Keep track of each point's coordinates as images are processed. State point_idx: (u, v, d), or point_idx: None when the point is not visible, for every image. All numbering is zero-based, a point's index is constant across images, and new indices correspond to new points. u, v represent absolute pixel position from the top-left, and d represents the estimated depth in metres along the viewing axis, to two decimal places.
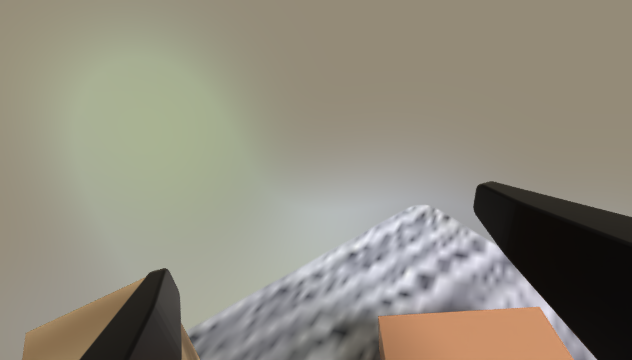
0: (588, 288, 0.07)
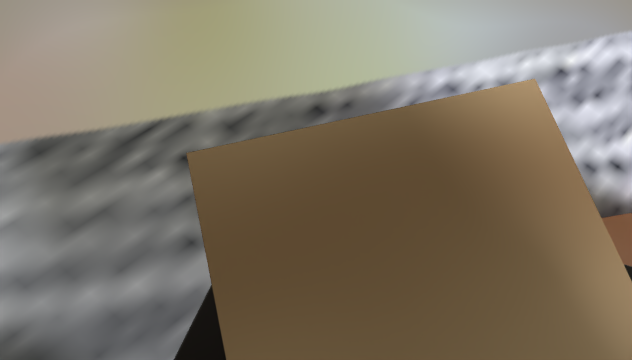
0: None
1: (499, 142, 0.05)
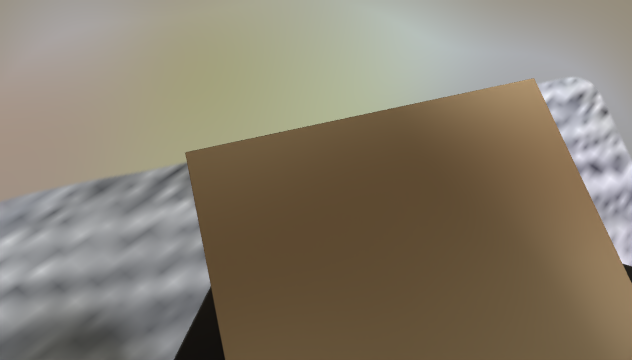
0: None
1: (497, 141, 0.05)
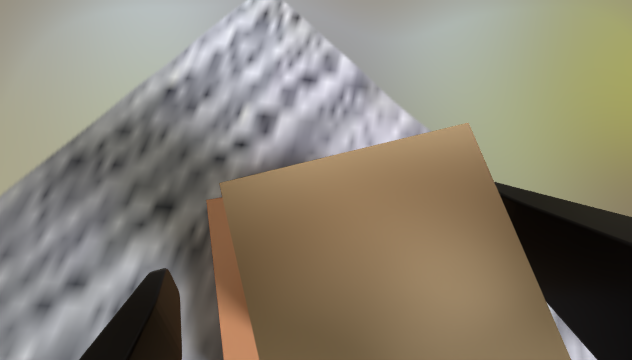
0: (588, 288, 0.07)
1: (440, 170, 0.06)
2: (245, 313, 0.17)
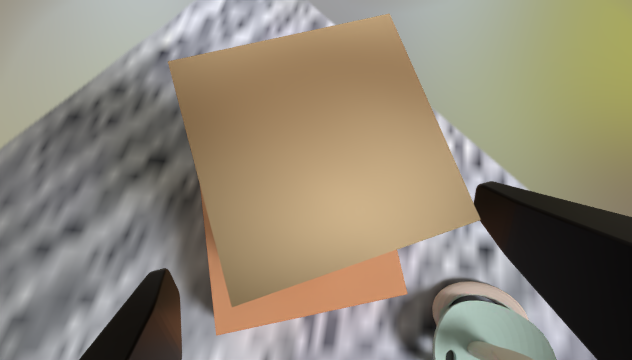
0: (588, 288, 0.07)
1: (362, 51, 0.07)
2: None
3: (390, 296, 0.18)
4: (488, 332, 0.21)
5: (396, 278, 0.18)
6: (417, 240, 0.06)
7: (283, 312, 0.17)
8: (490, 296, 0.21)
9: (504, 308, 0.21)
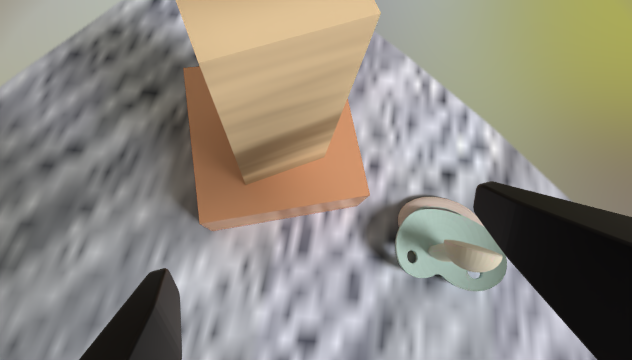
0: (588, 288, 0.07)
1: None
2: (214, 153, 0.20)
3: (354, 196, 0.20)
4: (447, 238, 0.23)
5: (360, 182, 0.20)
6: (333, 24, 0.09)
7: (258, 206, 0.19)
8: (450, 208, 0.24)
9: (461, 216, 0.23)
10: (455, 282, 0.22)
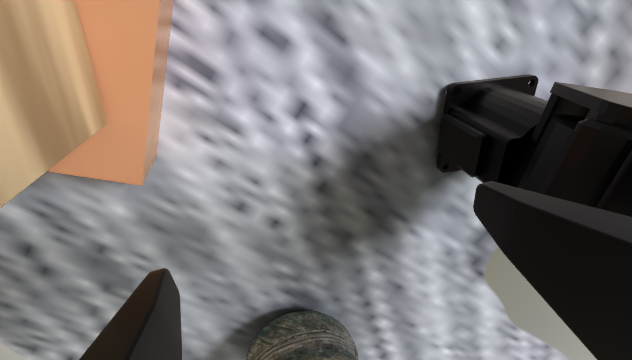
0: (588, 288, 0.07)
1: None
2: None
3: None
4: None
5: None
6: None
7: (138, 123, 0.16)
8: None
9: None
10: None
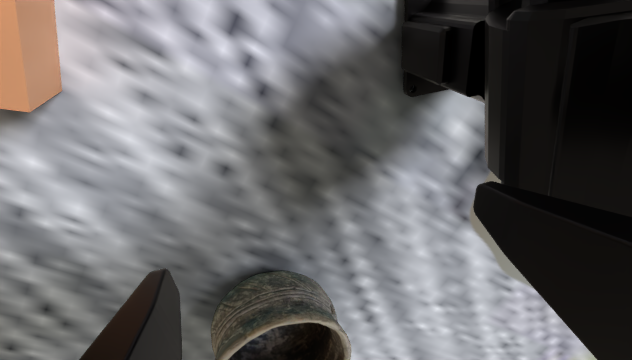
0: (588, 288, 0.07)
1: None
2: None
3: None
4: None
5: None
6: None
7: (4, 24, 0.13)
8: None
9: None
10: None
